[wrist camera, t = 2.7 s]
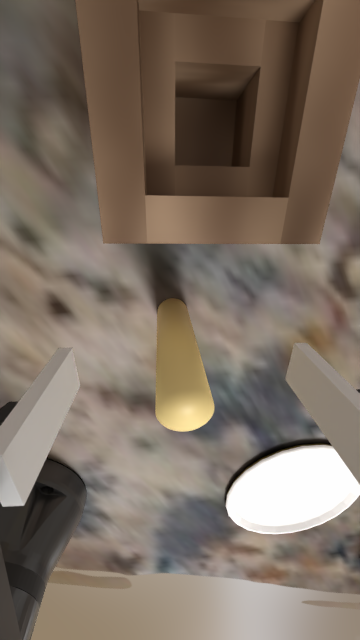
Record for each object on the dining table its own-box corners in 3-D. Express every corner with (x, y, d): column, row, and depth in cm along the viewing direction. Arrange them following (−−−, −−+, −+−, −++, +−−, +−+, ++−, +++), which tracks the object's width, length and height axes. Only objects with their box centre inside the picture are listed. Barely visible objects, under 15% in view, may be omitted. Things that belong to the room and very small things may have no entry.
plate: (204, 469, 33) (206, 478, 32) (356, 418, 31) (363, 425, 30) (244, 538, 41) (247, 548, 40) (365, 502, 39) (371, 510, 38)
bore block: (122, 232, 19) (103, 243, 13) (103, 15, 14) (58, -145, 8) (268, 233, 20) (319, 243, 14) (300, 29, 15) (403, -104, 9)
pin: (157, 326, 23) (156, 433, 12) (156, 298, 22) (154, 388, 11) (187, 325, 23) (212, 429, 12) (187, 298, 22) (216, 385, 11)
